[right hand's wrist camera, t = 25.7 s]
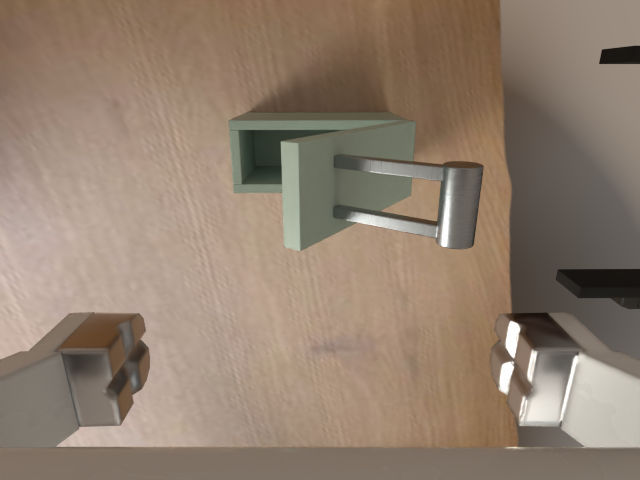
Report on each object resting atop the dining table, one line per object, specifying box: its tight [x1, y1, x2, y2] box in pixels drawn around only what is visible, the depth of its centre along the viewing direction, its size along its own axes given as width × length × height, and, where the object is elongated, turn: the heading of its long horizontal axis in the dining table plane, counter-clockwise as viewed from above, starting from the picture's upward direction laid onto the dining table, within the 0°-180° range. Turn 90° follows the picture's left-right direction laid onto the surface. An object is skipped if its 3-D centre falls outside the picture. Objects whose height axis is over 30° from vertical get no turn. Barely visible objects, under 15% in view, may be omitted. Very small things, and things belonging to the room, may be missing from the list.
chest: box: [229, 112, 406, 193], centre depth 38 cm, size 14×6×9 cm, turn 90°
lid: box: [281, 120, 483, 251], centre depth 26 cm, size 14×6×9 cm
